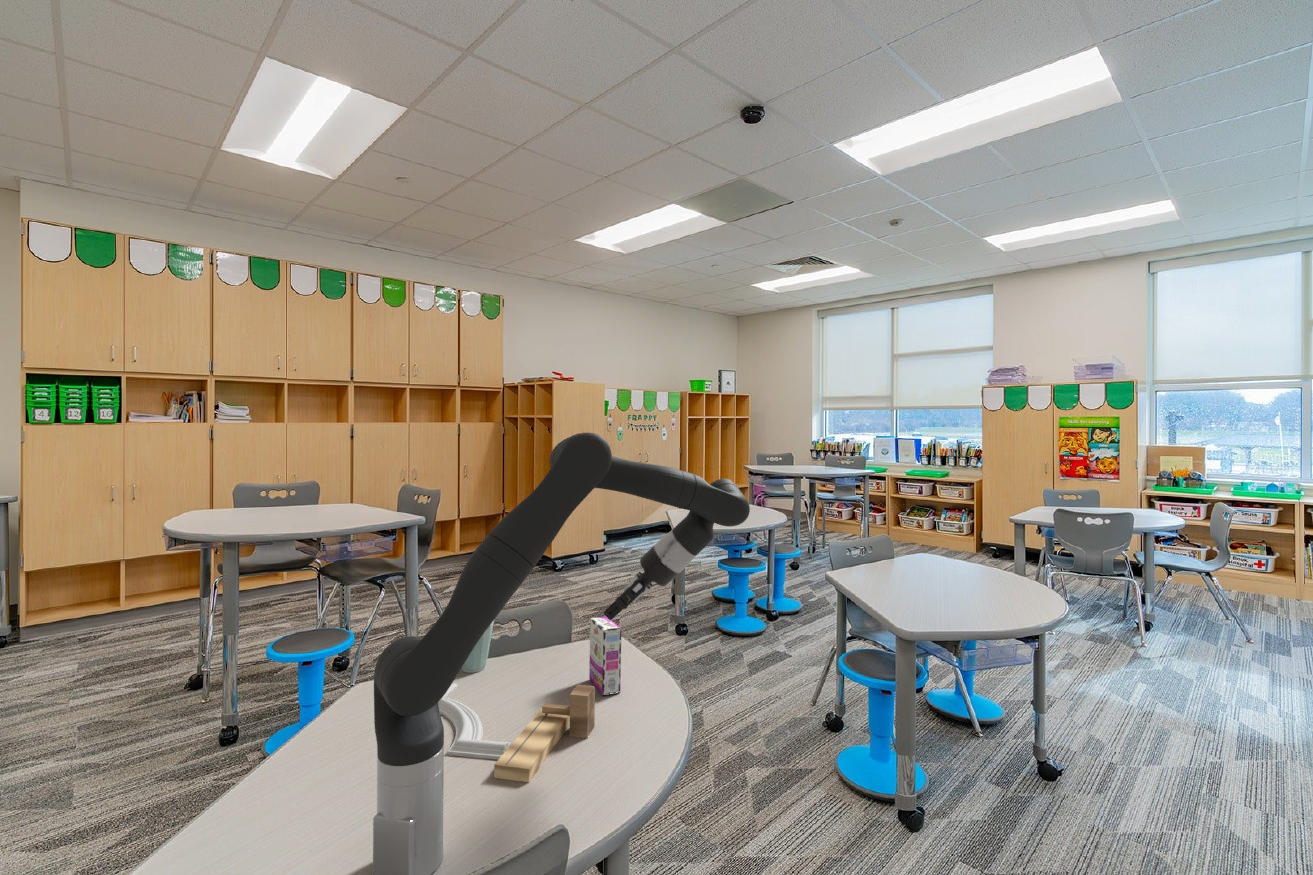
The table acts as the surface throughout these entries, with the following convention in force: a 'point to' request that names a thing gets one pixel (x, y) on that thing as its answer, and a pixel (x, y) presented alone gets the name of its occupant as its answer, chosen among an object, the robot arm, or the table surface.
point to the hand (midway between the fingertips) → (612, 610)
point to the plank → (531, 747)
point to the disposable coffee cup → (479, 653)
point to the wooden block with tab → (577, 710)
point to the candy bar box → (605, 655)
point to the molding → (468, 731)
